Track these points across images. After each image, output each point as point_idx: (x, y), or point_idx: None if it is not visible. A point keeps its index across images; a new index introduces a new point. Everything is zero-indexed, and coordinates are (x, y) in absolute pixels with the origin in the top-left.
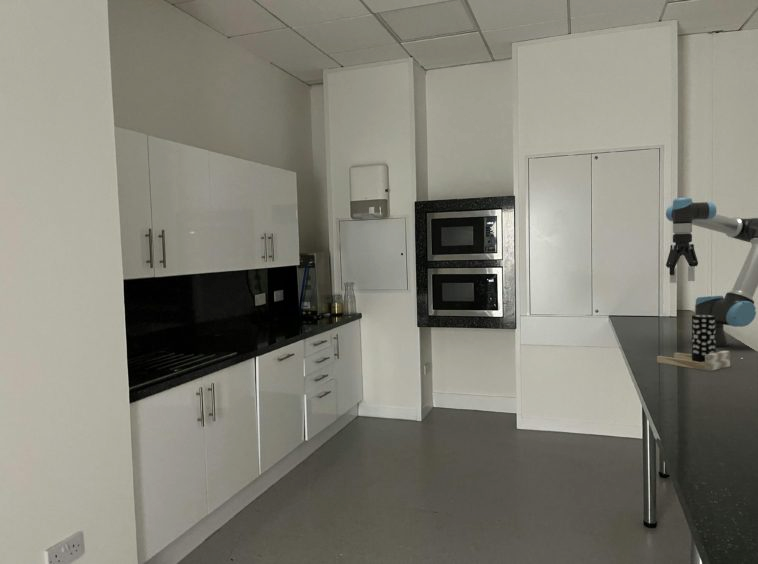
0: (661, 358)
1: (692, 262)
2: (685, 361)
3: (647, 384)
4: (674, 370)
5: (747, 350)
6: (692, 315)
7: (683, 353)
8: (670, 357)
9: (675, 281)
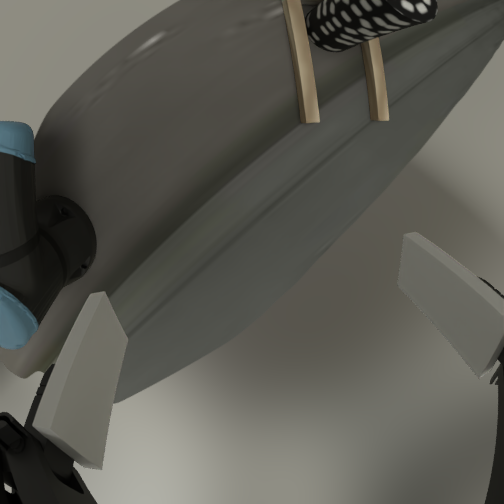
0: (385, 108)
1: (58, 494)
2: (379, 48)
3: (488, 49)
4: (410, 52)
5: (44, 126)
6: (424, 21)
7: (305, 102)
8: (376, 91)
9: (423, 237)
